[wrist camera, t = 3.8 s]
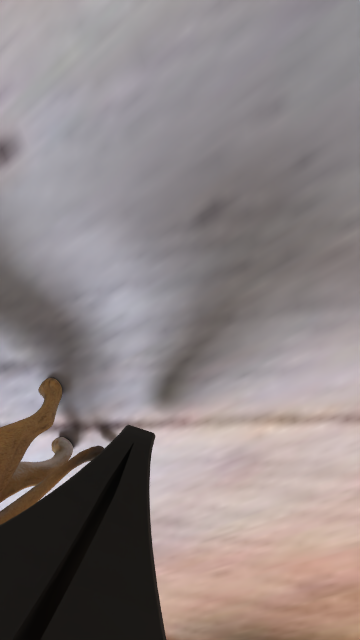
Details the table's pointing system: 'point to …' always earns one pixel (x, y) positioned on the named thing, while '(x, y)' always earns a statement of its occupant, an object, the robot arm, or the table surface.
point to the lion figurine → (12, 475)
